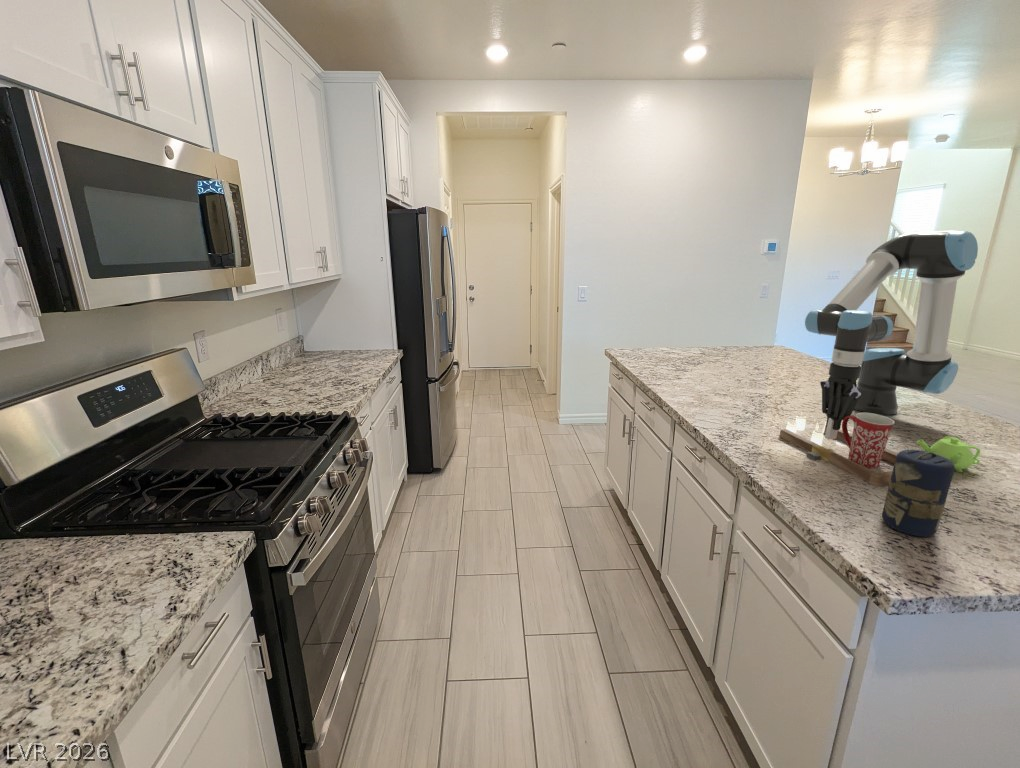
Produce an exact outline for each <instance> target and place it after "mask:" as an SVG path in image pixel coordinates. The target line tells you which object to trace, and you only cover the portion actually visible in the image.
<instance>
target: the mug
mask: <svg viewBox="0 0 1020 768" xmlns="http://www.w3.org/2000/svg"><path fill="white" fill-rule="evenodd" d="M850 419H851V420H852V421H853V423H854V424H853V430H852V433H851V434H852V440H851V438H850V436H849V433H850V432H849V430H848V422H849V421H850ZM895 423H896V422H895V420H893V418H890V417H888V416H885V415H883V414H873V413H867V412H858V413H855V414H854V415H851V416H847V417H845V418H844V419H843V420H842V422H841V430H842V431H843V435H844V437H845V440H846V442H847V443H846V442H845V443H846V444H847V446H848V448H849V452H848V457H847V459H849V460H851V461H853V462H855V463H857V464H860V465H862V466H864V467H866V468H878V467H880V463H881V461H882V455H883V452H884V450H885V448H887V447H886V446H887V444H888V441H889V438H890V435H891V432H892V429H893V426H894V425H895Z"/></svg>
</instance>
